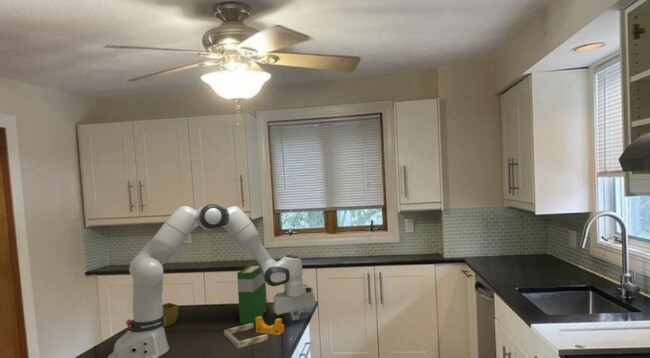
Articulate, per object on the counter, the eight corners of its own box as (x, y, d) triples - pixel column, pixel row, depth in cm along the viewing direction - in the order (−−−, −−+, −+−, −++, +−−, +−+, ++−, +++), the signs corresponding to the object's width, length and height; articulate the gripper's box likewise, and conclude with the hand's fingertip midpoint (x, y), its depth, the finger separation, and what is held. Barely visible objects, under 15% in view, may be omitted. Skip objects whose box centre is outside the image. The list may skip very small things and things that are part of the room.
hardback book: (252, 310, 206) (250, 264, 206) (266, 310, 205) (264, 264, 205) (239, 323, 189) (237, 273, 189) (254, 323, 188) (252, 272, 188)
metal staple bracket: (237, 348, 161) (236, 343, 161) (223, 334, 176) (223, 330, 176) (268, 339, 168) (267, 335, 168) (252, 327, 183) (252, 322, 183)
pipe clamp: (284, 331, 176) (283, 317, 176) (279, 335, 172) (278, 320, 172) (261, 328, 181) (260, 314, 181) (256, 332, 177) (255, 318, 177)
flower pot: (163, 329, 186) (162, 310, 186) (153, 326, 191) (152, 307, 191) (179, 323, 193) (178, 305, 193) (169, 320, 198) (168, 302, 198)
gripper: (276, 295, 176) (277, 326, 176) (316, 287, 187) (317, 316, 187) (270, 292, 182) (272, 322, 182) (309, 284, 192) (311, 313, 192)
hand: (295, 319), depth 185 cm, fingers closed
